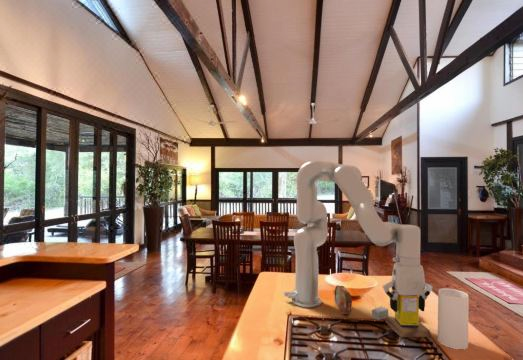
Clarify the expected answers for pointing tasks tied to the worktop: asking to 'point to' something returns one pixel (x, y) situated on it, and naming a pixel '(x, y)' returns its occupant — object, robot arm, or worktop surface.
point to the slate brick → (379, 313)
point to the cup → (453, 318)
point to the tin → (343, 299)
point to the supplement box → (407, 311)
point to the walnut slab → (408, 329)
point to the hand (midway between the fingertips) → (407, 309)
